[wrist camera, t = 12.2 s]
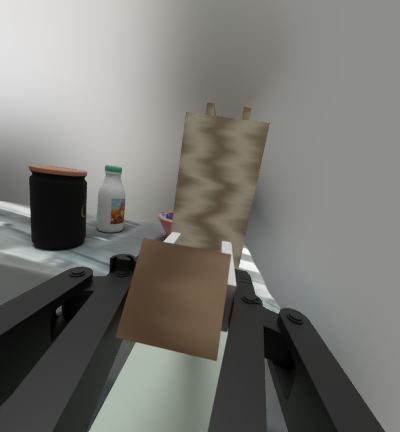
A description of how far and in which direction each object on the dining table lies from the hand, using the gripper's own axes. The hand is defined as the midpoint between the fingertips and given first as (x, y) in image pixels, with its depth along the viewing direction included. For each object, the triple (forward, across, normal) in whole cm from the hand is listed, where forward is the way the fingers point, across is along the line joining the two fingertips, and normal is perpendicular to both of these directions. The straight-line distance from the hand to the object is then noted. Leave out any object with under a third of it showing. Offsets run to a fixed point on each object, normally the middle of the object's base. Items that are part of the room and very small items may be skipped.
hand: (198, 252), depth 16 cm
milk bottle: (+41, -32, -15) cm, 54 cm away
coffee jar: (+26, -36, -15) cm, 47 cm away
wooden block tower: (+19, 0, -15) cm, 24 cm away
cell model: (+43, -7, -15) cm, 46 cm away
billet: (-1, 0, -4) cm, 5 cm away
